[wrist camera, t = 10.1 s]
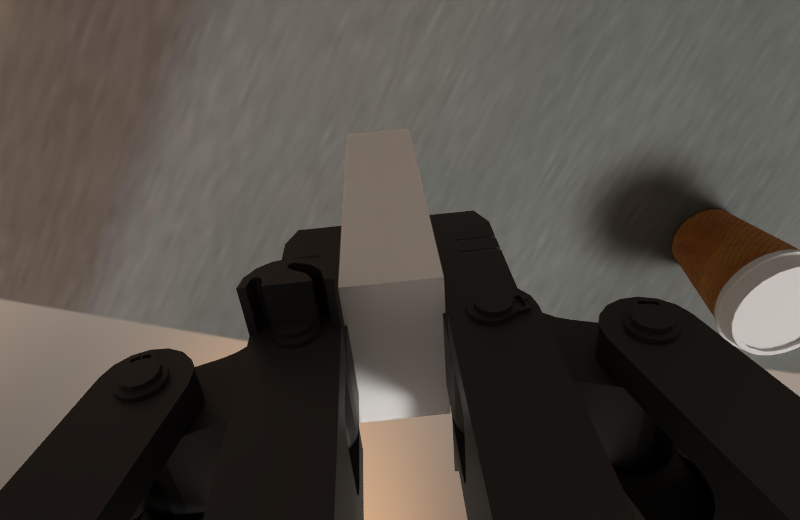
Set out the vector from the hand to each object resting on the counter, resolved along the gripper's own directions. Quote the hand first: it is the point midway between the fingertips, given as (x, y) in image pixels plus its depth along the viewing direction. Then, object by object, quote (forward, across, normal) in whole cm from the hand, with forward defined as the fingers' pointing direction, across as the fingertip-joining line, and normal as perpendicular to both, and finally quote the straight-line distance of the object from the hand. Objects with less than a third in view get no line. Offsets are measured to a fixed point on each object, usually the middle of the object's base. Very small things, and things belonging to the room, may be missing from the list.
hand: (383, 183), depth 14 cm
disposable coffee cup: (+32, +30, -23) cm, 50 cm away
